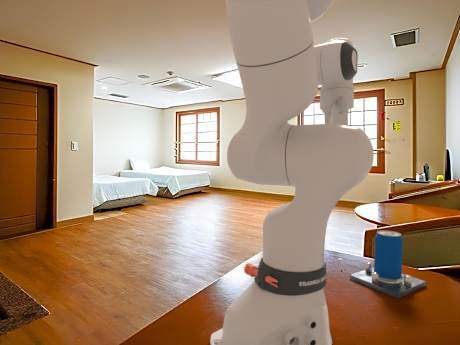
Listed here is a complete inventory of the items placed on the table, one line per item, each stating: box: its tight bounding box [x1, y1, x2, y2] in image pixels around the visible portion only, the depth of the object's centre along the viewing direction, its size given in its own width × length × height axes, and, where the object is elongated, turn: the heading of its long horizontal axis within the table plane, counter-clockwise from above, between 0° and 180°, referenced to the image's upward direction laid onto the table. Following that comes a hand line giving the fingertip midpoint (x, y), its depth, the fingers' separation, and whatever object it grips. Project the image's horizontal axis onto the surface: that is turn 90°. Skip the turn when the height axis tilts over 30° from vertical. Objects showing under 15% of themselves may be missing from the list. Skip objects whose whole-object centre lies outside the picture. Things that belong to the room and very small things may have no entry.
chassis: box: [349, 261, 427, 299], centre depth 79 cm, size 13×13×4 cm
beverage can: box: [373, 229, 404, 281], centre depth 79 cm, size 6×6×12 cm
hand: (335, 152), depth 83 cm, fingers open, 8 cm apart
